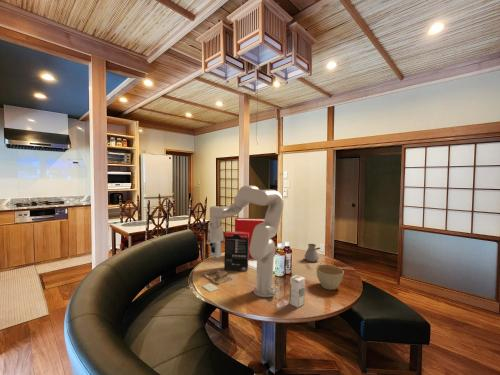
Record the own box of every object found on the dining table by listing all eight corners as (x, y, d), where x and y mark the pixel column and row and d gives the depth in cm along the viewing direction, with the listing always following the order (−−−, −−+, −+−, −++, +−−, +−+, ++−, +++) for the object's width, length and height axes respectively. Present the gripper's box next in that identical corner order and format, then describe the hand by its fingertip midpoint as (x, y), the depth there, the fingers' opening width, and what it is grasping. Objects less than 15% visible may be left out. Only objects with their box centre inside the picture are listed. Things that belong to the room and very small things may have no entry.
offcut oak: (229, 280, 151) (229, 276, 151) (218, 283, 145) (219, 279, 145) (225, 277, 154) (225, 274, 154) (215, 281, 149) (215, 277, 149)
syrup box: (295, 300, 126) (296, 274, 126) (304, 304, 122) (305, 277, 122) (289, 303, 123) (289, 276, 122) (298, 308, 118) (299, 280, 118)
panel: (220, 256, 153) (220, 241, 153) (216, 257, 151) (216, 242, 150) (214, 253, 159) (214, 239, 159) (210, 254, 157) (210, 240, 156)
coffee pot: (302, 258, 194) (302, 240, 193) (315, 257, 195) (315, 240, 195) (312, 267, 173) (313, 248, 172) (326, 267, 174) (327, 247, 174)
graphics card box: (248, 267, 171) (249, 231, 169) (247, 271, 164) (248, 233, 163) (225, 266, 172) (226, 230, 171) (223, 270, 165) (224, 232, 164)
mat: (218, 289, 137) (218, 288, 137) (210, 292, 133) (210, 291, 133) (210, 283, 144) (210, 283, 144) (201, 286, 140) (201, 286, 140)
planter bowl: (325, 294, 133) (325, 275, 133) (310, 282, 149) (311, 265, 148) (349, 291, 138) (349, 273, 137) (332, 279, 153) (333, 263, 153)
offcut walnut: (227, 276, 151) (227, 272, 151) (220, 279, 146) (220, 275, 146) (223, 274, 153) (223, 270, 153) (216, 277, 149) (216, 273, 148)
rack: (232, 279, 150) (232, 276, 150) (218, 284, 143) (218, 281, 143) (216, 271, 163) (216, 268, 163) (203, 275, 156) (203, 272, 156)
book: (266, 255, 198) (267, 218, 197) (267, 258, 190) (267, 220, 189) (235, 254, 199) (235, 218, 198) (234, 258, 191) (234, 219, 190)
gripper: (207, 227, 146) (207, 256, 146) (228, 224, 157) (228, 250, 157) (201, 225, 151) (201, 253, 152) (222, 222, 162) (222, 248, 163)
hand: (215, 251), depth 155 cm, fingers closed on panel, 3 cm apart
